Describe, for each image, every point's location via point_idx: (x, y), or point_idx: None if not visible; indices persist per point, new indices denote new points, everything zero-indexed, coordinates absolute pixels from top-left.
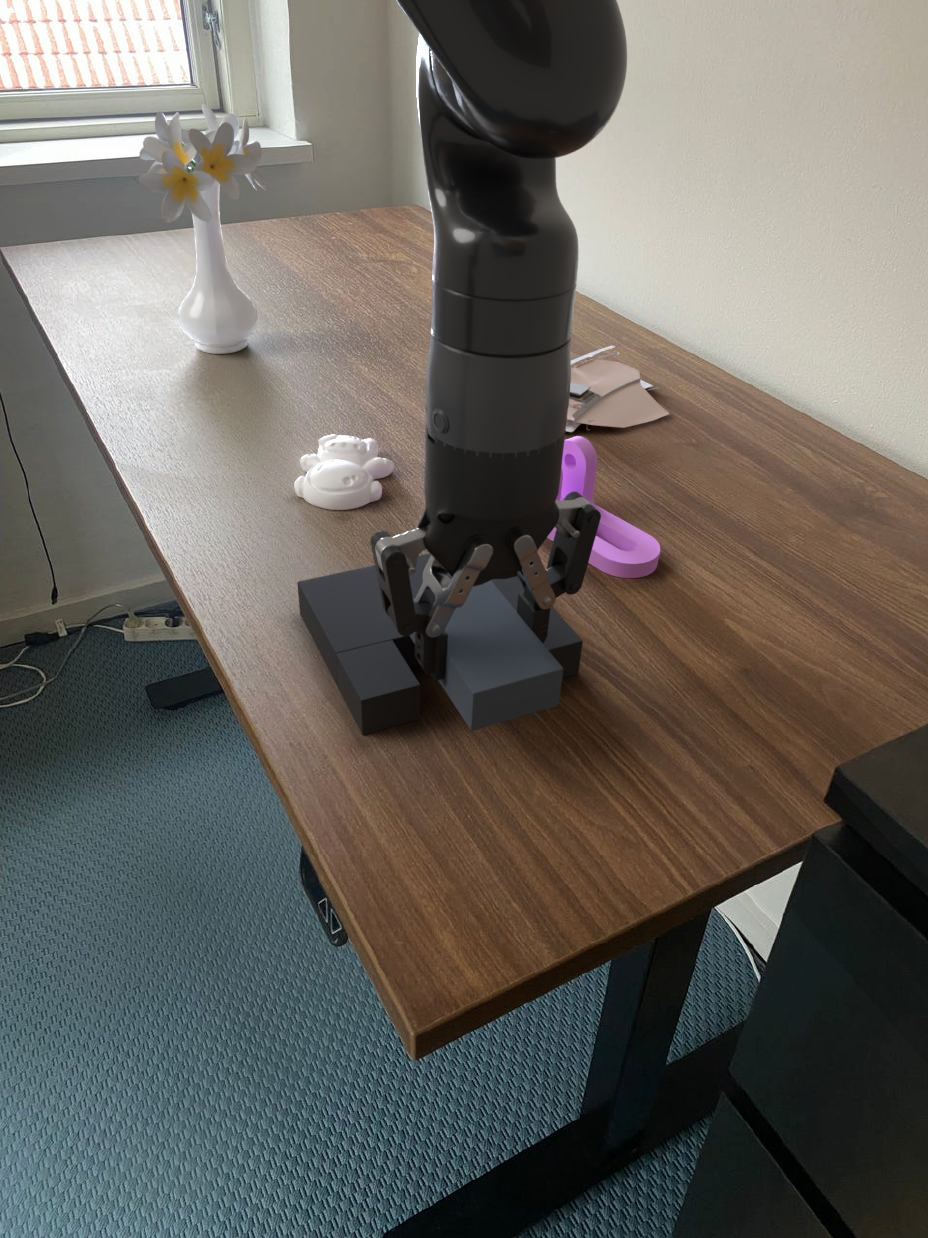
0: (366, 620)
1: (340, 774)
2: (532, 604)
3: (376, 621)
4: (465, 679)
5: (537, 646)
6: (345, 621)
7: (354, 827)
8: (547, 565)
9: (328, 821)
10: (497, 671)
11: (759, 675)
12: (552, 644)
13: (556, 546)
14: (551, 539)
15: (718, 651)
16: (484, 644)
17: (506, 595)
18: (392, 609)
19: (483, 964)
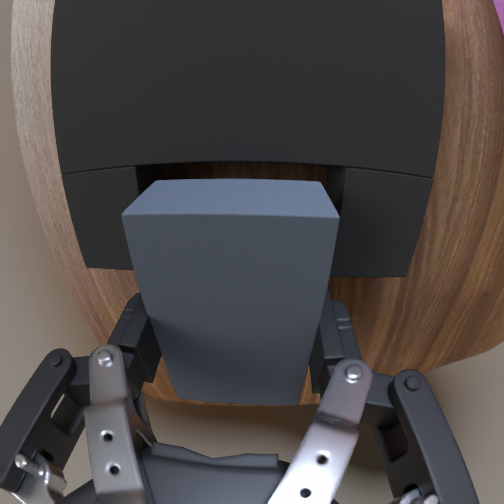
0: (108, 105)
1: (91, 272)
2: (320, 388)
3: (123, 110)
4: (175, 386)
5: (293, 381)
6: (81, 100)
7: (103, 317)
8: (397, 393)
9: (86, 305)
10: (218, 391)
11: (486, 301)
12: (368, 270)
13: (410, 445)
14: (498, 14)
15: (495, 268)
16: (222, 359)
17: (387, 128)
18: (55, 414)
19: (168, 395)
